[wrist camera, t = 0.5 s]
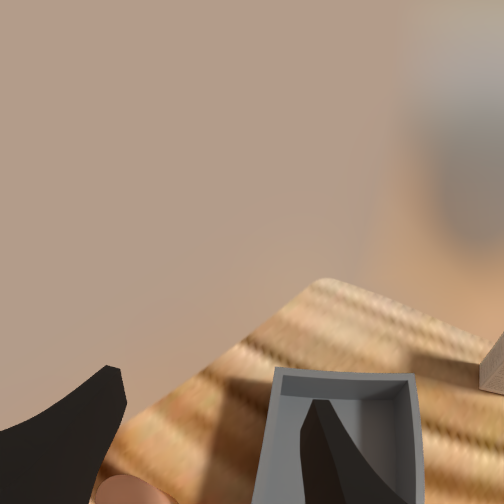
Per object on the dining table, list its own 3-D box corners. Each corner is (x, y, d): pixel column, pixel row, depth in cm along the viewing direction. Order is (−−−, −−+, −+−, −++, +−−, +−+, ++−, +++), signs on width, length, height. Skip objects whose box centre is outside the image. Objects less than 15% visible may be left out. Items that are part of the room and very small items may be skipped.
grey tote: (396, 549, 13) (422, 548, 10) (242, 551, 15) (239, 555, 12) (396, 396, 27) (414, 373, 24) (272, 390, 29) (275, 366, 26)
